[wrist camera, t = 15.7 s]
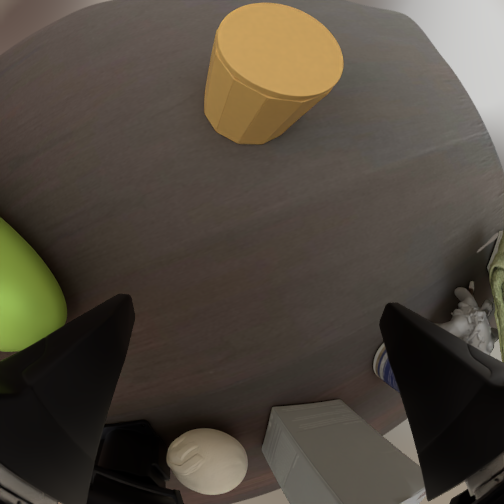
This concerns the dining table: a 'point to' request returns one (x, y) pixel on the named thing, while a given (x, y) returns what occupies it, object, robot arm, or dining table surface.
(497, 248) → the small box
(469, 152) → the dining table surface
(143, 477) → the robot arm
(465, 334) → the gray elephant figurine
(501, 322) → the washcloth
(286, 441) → the cosmetic box
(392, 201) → the dining table surface
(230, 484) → the steamed bun
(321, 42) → the cup-cap
